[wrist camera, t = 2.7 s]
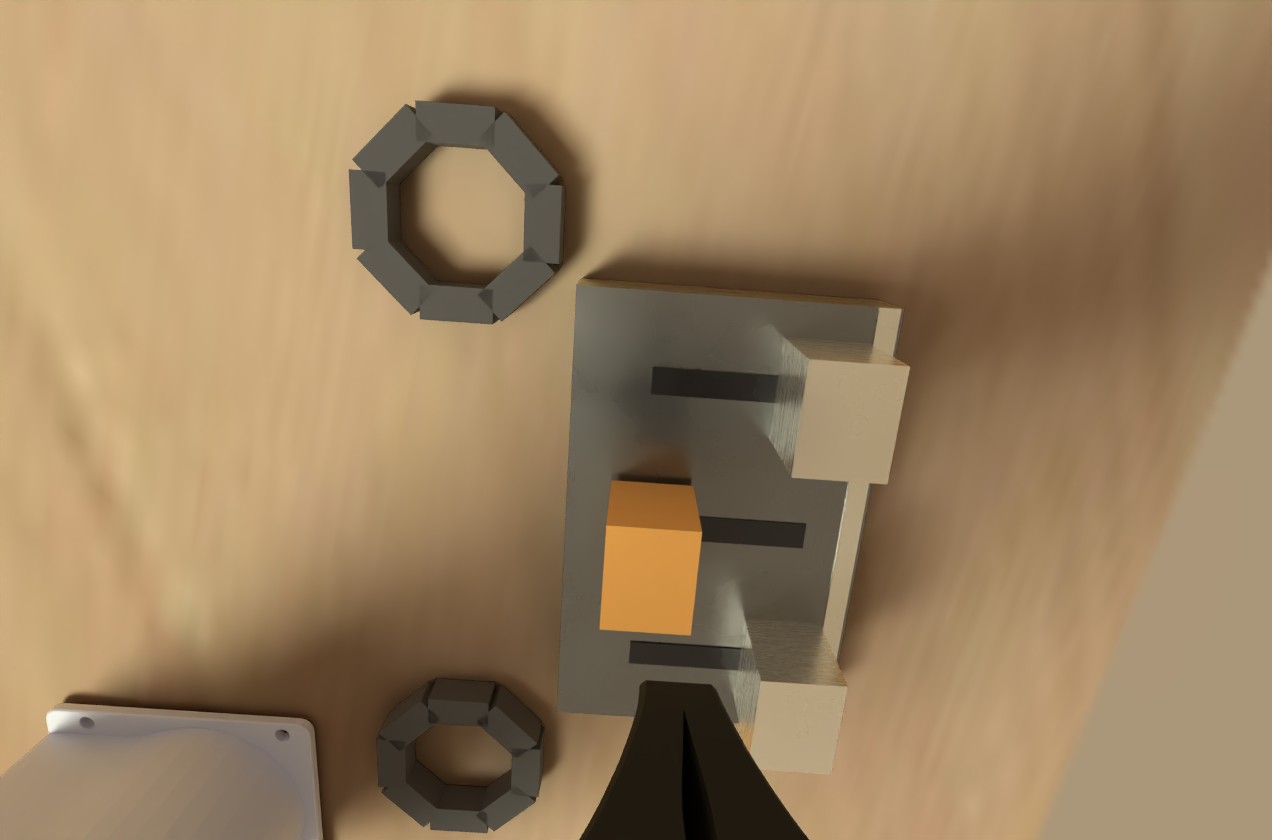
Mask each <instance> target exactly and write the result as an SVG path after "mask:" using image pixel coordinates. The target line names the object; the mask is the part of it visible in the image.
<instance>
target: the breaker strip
mask: <svg viewBox="0 0 1272 840" xmlns="http://www.w3.org/2000/svg"><path fill="white" fill-rule="evenodd" d="M904 310H905V309H903V308H900V307H897V306H894V305H892V304H889V303H886V302H884V301H881V300H871V299H858V298H844V297H831V296H817V295H804V294H790V293H777V292H763V291H750V290H736V289H723V288H709V287H696V286H682V285H669V284H655V283H642V282H628V281H615V280H601V279H588V278H582V279H581V280H580V281H579V283H578V284H577V285H576V304H575V326H574V348H573V369H572V391H571V413H570V435H569V456H568V478H567V500H566V521H565V543H564V565H563V587H562V608H561V630H560V652H559V673H558V695H557V712H570V713H585V714H601V715H616V716H632V717H635V714H636V710H637V706H638V697H639V686H640V684H642V683H643V682H644V681H646V680H653V681H668V682H683V683H698V684H712V685H713V687H714V688H715V689H716V690H717V692H718V694H719V697H720V699H721V701H722V703H723V705H724V707H725V709H726V711H727V713H728V715H729V717H730V719H731V721H732V723H739V726H740V731H741V736H742V741H743V743H744V744H745V746H746V748H747V750H748V751H749V753H750V754H751V756H752V758H753V759H754V761H755V763H756V764H757V766H758V767H759V769H760V770H769V771H785V772H800V773H816V774H831V772H832V767H833V761H834V756H835V751H836V746H837V741H838V736H839V731H840V725H841V720H842V715H843V710H844V705H845V700H846V695H847V689H848V686H847V683H846V681H845V679H844V677H843V674H842V672H841V670H840V667H839V665H838V662H839V657H840V652H841V646H842V641H843V636H844V630H845V625H846V619H847V614H848V609H849V603H850V598H851V593H852V587H853V582H854V577H855V571H856V566H857V561H858V555H859V550H860V545H861V539H862V534H863V529H864V523H865V518H866V513H867V507H868V502H869V497H870V491H871V486H872V483H874V484H888V479H889V473H890V468H891V463H892V458H893V453H894V448H895V443H896V437H897V432H898V427H899V422H900V417H901V412H902V407H903V401H904V396H905V391H906V386H907V381H908V376H909V371H910V366H908V365H907V364H905V363H903V362H901V361H900V360H898V359H896V352H897V347H898V342H899V336H900V331H901V326H902V320H903V315H904ZM611 480H616V481H630V482H645V483H659V484H673V485H688V486H693V487H694V492H695V498H696V503H697V508H698V513H699V518H700V523H701V529H702V538H701V547H700V556H699V565H698V574H697V583H696V592H695V601H694V610H693V619H692V628H691V635H676V634H661V633H646V632H631V631H615V630H600V615H601V599H602V584H603V569H604V553H605V538H606V524H607V515H608V505H609V496H610V487H611Z"/></svg>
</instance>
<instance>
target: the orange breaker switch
mask: <svg viewBox="0 0 1272 840" xmlns="http://www.w3.org/2000/svg"><path fill="white" fill-rule="evenodd" d="M701 538H702V529H701V523H700V518H699V513H698V508H697V503H696V498H695V492H694V487H693V486H688V485H673V484H659V483H645V482H630V481H616V480H611V487H610V496H609V505H608V515H607V524H606V538H605V553H604V569H603V584H602V599H601V615H600V630H615V631H631V632H646V633H661V634H676V635H691V628H692V619H693V610H694V601H695V592H696V583H697V574H698V565H699V556H700V547H701Z"/></svg>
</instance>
